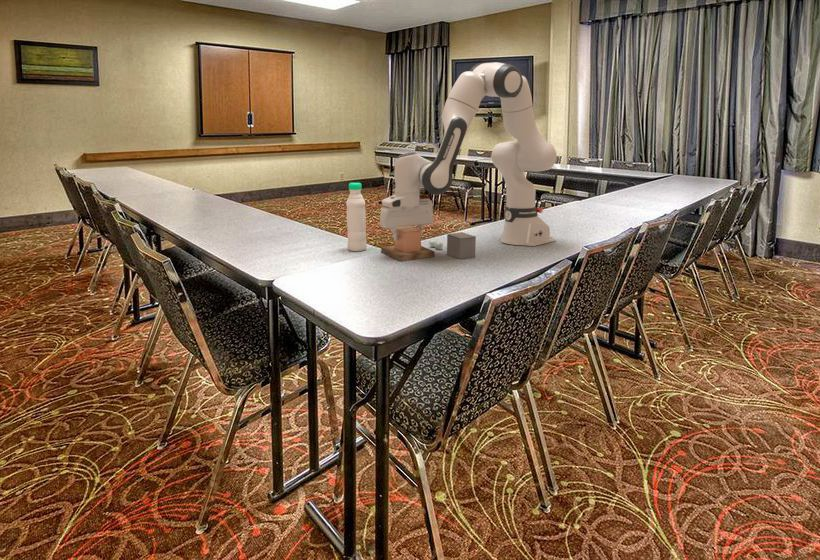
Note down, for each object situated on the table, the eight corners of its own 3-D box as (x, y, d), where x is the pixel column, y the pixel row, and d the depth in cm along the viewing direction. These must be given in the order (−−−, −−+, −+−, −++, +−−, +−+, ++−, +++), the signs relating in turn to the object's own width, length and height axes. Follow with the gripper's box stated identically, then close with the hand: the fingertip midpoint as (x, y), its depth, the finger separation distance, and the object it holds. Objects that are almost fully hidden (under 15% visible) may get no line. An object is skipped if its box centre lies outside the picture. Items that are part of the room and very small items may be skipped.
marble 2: (435, 250, 197) (439, 245, 199) (441, 250, 195) (445, 245, 197) (432, 245, 196) (435, 239, 197) (437, 245, 194) (441, 239, 195)
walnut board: (414, 248, 198) (414, 243, 198) (434, 256, 186) (434, 251, 185) (381, 252, 192) (381, 247, 191) (399, 261, 179) (399, 255, 179)
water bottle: (363, 252, 192) (361, 184, 185) (345, 251, 194) (342, 183, 187) (368, 248, 199) (367, 182, 192) (351, 247, 200) (348, 181, 193)
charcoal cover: (461, 252, 192) (462, 232, 190) (475, 257, 184) (475, 236, 182) (447, 254, 189) (447, 233, 187) (460, 259, 182) (460, 238, 179)
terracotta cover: (409, 245, 193) (409, 225, 191) (420, 250, 186) (420, 229, 184) (394, 247, 190) (394, 227, 188) (405, 252, 183) (405, 231, 181)
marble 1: (432, 249, 200) (434, 245, 202) (437, 246, 198) (439, 241, 200) (426, 244, 199) (428, 240, 201) (431, 241, 197) (433, 236, 199)
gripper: (428, 196, 190) (427, 233, 194) (377, 200, 181) (378, 239, 185) (436, 198, 185) (436, 236, 189) (385, 203, 176) (386, 242, 180)
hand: (407, 238), depth 187 cm, fingers open, 8 cm apart
